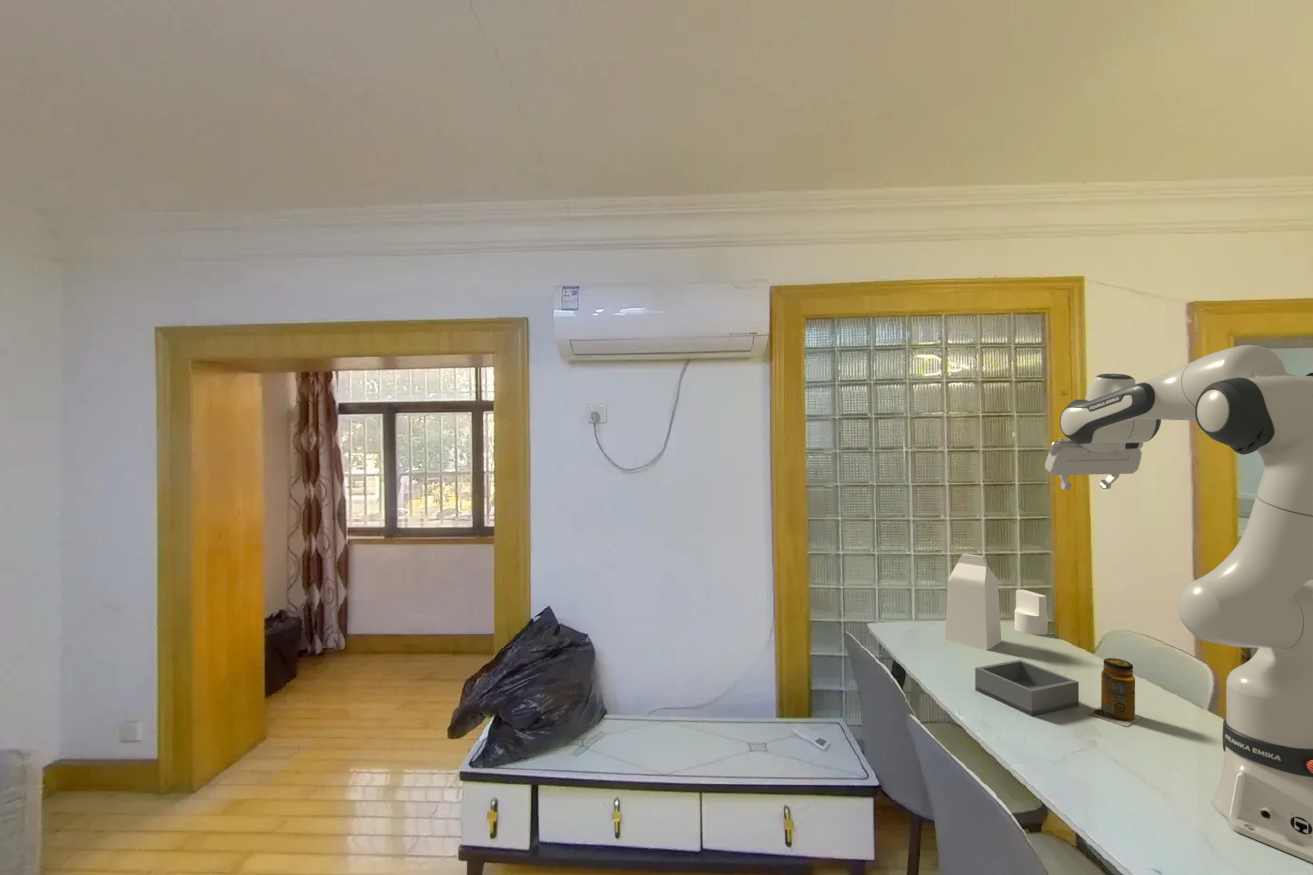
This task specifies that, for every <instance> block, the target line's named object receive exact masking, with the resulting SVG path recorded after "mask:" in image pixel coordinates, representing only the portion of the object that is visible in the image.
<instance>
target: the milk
mask: <svg viewBox="0 0 1313 875" xmlns="http://www.w3.org/2000/svg"><path fill="white" fill-rule="evenodd" d="M998 581H999V580H998V579H997V577H996V575H995V574H994V572H993V571H992V570H991V568H990V567H989V566H988V563H987V560H986V558H985V556H983V555H977V554H969V553H962V554H961V555H960V557H959V560H958V561H957V563H956V565H955V567H954V568H953V570H952V571H951V573H950V575H949V577H948V580H947V592H946V594H947V595H946V612H945V629H944V630H945V633H944V641H945V640H949V641H952V642H951V643H953V642H956V643H955V644H957V643H960V644H959V645H962V644H963V646H965V647H966V646H967V647H970V646H971V648H974V649H979V650H983V649H985V650H984V651H988V649H989V650H990V649H992V648H993V647H995V646H996V645H999V643H1002V633H1001V632H1002V630H1001V614H1000V599H999V598H1000V595H999V594H1000V593H999V582H998ZM949 641H948V642H949Z"/></svg>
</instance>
